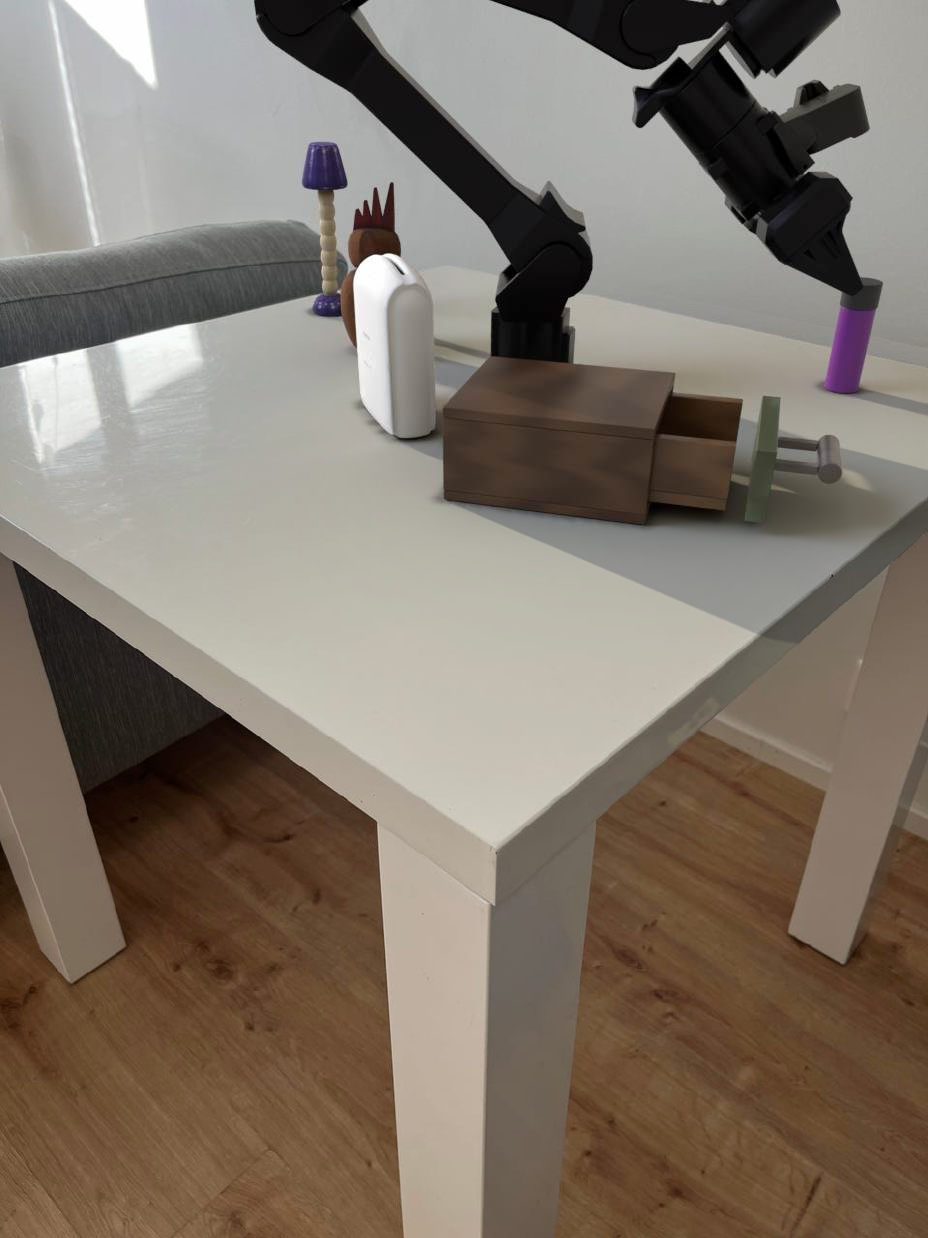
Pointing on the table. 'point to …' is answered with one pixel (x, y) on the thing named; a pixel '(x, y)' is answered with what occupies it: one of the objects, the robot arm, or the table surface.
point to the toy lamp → (326, 216)
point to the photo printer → (395, 345)
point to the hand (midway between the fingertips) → (841, 278)
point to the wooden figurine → (368, 248)
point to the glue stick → (852, 337)
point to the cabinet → (555, 438)
